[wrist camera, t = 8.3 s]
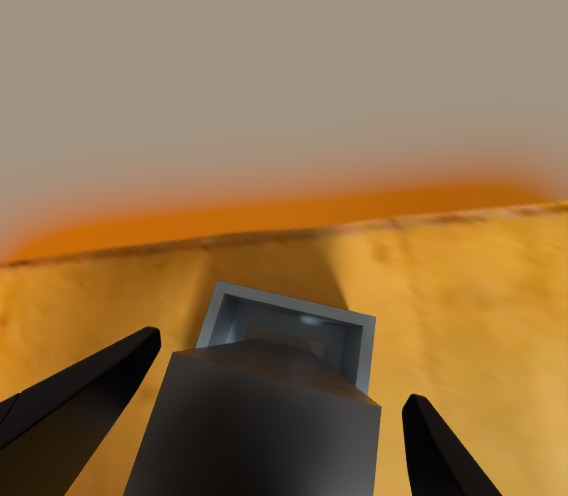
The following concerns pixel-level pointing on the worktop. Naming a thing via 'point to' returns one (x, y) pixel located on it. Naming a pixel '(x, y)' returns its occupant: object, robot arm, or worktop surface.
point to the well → (292, 326)
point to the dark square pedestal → (257, 424)
